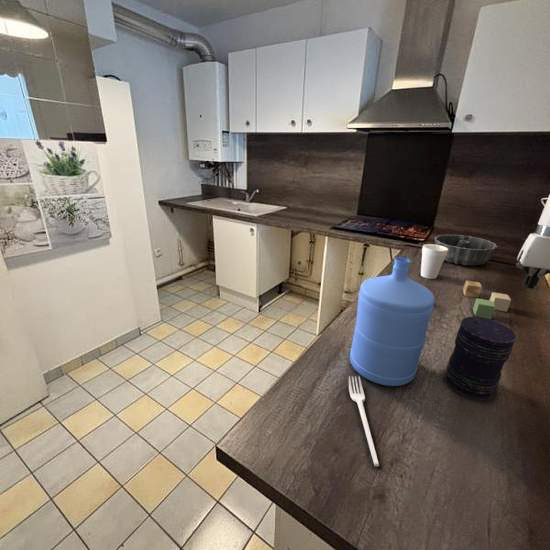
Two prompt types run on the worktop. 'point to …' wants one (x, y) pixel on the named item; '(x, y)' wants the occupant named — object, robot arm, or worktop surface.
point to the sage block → (483, 308)
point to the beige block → (500, 301)
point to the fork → (363, 415)
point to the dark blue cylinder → (479, 357)
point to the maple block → (472, 289)
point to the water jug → (391, 326)
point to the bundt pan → (466, 249)
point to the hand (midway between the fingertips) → (528, 286)
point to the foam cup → (432, 260)
